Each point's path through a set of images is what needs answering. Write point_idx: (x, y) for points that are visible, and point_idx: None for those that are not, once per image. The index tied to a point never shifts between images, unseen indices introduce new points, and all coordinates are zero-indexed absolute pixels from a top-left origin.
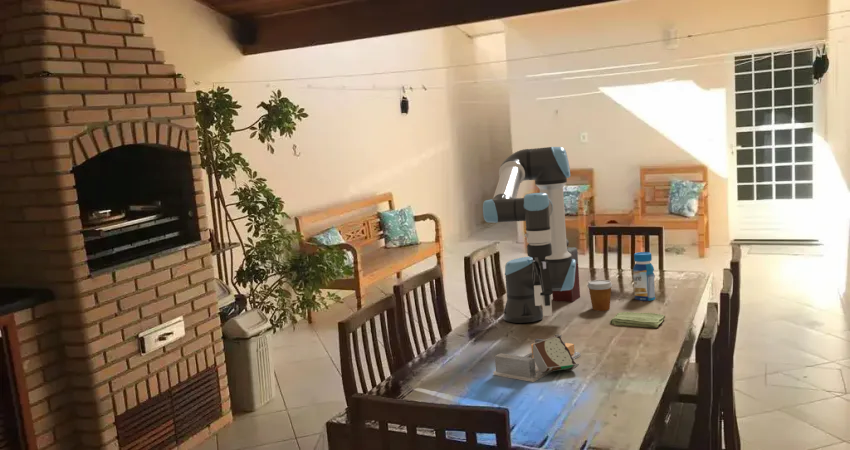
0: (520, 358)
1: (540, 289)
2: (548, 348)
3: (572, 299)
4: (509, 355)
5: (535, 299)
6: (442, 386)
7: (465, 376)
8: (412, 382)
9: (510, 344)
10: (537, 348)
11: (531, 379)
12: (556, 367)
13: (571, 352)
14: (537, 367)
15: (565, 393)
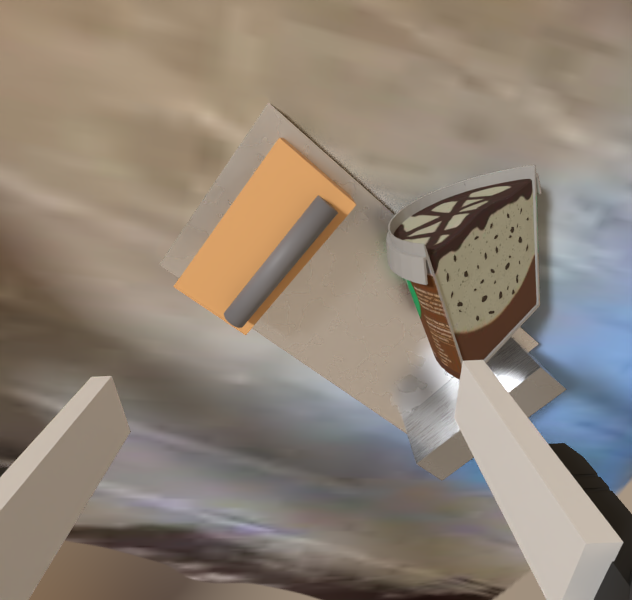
0: None
1: (14, 530)
2: (482, 310)
3: None
4: (458, 441)
5: (101, 473)
6: (461, 533)
7: (401, 492)
8: (406, 579)
9: (77, 363)
10: (482, 359)
11: (531, 346)
12: (534, 268)
13: (305, 157)
14: None
15: None
